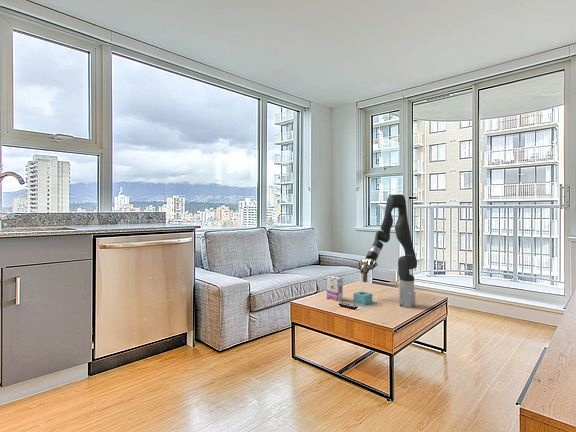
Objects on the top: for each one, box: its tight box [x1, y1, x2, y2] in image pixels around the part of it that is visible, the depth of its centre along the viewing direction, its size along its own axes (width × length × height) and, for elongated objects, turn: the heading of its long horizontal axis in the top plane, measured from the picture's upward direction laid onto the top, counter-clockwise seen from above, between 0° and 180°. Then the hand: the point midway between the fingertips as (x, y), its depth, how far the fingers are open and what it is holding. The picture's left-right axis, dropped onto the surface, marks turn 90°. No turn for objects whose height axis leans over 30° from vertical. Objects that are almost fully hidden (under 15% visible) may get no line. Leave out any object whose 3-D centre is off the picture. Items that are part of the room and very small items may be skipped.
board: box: [348, 300, 379, 308], centre depth 225 cm, size 14×16×1 cm
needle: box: [362, 261, 368, 283], centre depth 234 cm, size 3×3×14 cm
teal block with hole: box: [352, 290, 373, 305], centre depth 227 cm, size 9×9×6 cm
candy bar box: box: [326, 275, 344, 302], centre depth 234 cm, size 11×5×16 cm, turn 37°
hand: (363, 272), depth 232 cm, fingers closed on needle, 3 cm apart
